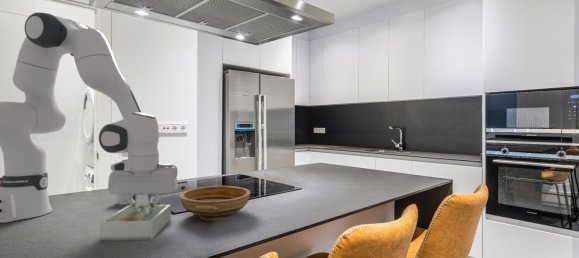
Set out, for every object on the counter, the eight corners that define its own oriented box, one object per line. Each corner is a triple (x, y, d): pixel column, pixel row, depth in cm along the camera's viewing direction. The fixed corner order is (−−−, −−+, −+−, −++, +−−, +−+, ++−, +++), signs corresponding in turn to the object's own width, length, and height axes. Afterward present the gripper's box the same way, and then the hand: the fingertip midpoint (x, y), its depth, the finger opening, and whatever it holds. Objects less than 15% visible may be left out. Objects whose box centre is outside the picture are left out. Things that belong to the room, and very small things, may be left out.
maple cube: (119, 234, 87) (119, 216, 87) (127, 228, 92) (127, 211, 92) (138, 234, 87) (138, 216, 87) (145, 228, 92) (145, 211, 92)
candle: (115, 201, 126) (115, 186, 126) (140, 199, 130) (140, 184, 130) (113, 206, 118) (113, 190, 118) (139, 204, 122) (139, 188, 122)
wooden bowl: (195, 203, 123) (195, 183, 123) (255, 204, 123) (255, 184, 123) (163, 229, 94) (163, 203, 93) (243, 230, 93) (243, 203, 93)
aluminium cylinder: (132, 217, 95) (132, 194, 95) (138, 212, 100) (138, 191, 100) (149, 217, 95) (149, 194, 95) (154, 212, 100) (154, 191, 100)
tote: (151, 239, 85) (151, 221, 85) (99, 240, 84) (99, 222, 84) (170, 219, 103) (170, 204, 103) (128, 220, 102) (128, 205, 102)
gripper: (180, 162, 101) (180, 204, 101) (115, 162, 99) (115, 205, 100) (174, 165, 95) (174, 209, 95) (105, 165, 93) (105, 211, 93)
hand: (143, 207), depth 97 cm, fingers closed on aluminium cylinder, 5 cm apart
